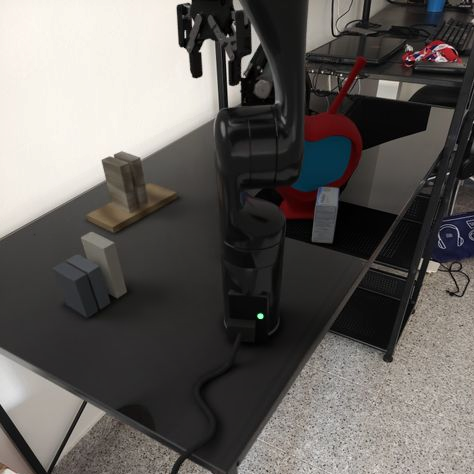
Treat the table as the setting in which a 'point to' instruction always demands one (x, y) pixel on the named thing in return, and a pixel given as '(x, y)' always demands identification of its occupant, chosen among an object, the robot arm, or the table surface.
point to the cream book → (105, 262)
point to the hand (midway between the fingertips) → (215, 81)
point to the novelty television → (324, 155)
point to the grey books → (82, 285)
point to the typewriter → (265, 84)
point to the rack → (128, 193)
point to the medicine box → (325, 215)
